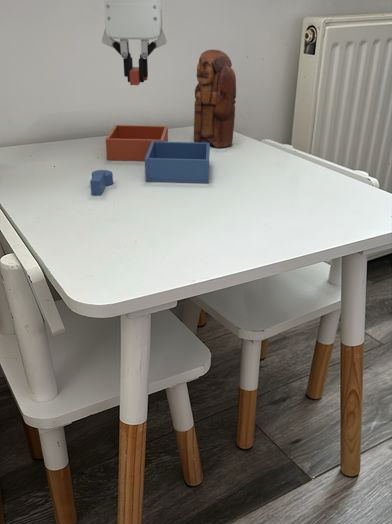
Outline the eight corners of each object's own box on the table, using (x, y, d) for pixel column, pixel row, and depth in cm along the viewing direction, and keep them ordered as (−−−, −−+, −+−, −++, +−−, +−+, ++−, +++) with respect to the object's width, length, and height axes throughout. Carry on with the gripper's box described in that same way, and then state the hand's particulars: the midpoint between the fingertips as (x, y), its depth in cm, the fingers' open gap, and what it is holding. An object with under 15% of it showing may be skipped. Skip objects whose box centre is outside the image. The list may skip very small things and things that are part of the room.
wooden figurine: (184, 138, 125) (184, 48, 115) (206, 134, 128) (208, 46, 118) (217, 150, 117) (221, 54, 107) (240, 145, 121) (245, 52, 111)
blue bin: (145, 181, 99) (144, 158, 97) (152, 162, 109) (151, 141, 107) (208, 183, 99) (209, 160, 97) (209, 163, 109) (209, 142, 107)
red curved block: (143, 85, 104) (143, 71, 103) (124, 85, 104) (124, 70, 103) (148, 78, 111) (147, 64, 110) (130, 77, 111) (129, 64, 110)
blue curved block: (106, 195, 93) (105, 181, 91) (85, 194, 93) (83, 180, 91) (114, 180, 99) (113, 166, 98) (94, 179, 99) (93, 166, 98)
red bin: (106, 160, 110) (105, 139, 108) (116, 144, 120) (114, 124, 118) (163, 161, 110) (163, 140, 107) (168, 145, 120) (167, 126, 118)
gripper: (177, -35, 100) (178, 78, 110) (90, -36, 100) (99, 77, 110) (175, -35, 93) (176, 85, 104) (81, -36, 94) (92, 83, 104)
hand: (136, 80), depth 107 cm, fingers closed on red curved block, 1 cm apart
